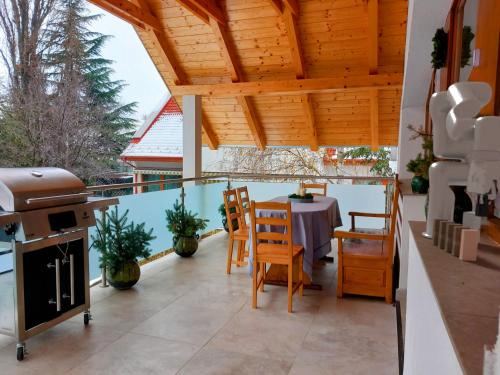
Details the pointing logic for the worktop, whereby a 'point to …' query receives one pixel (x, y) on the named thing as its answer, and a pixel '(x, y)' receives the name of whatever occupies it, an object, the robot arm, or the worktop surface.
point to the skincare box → (472, 221)
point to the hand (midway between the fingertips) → (481, 216)
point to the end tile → (469, 245)
